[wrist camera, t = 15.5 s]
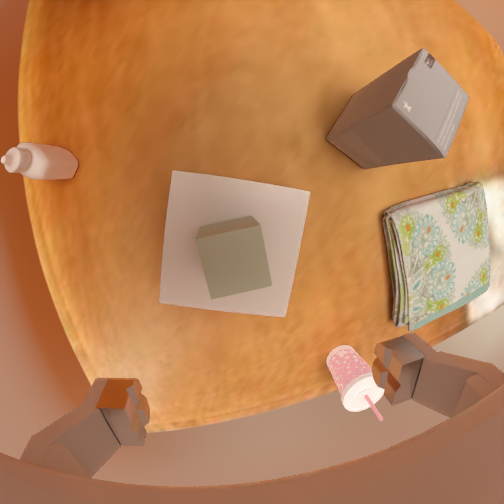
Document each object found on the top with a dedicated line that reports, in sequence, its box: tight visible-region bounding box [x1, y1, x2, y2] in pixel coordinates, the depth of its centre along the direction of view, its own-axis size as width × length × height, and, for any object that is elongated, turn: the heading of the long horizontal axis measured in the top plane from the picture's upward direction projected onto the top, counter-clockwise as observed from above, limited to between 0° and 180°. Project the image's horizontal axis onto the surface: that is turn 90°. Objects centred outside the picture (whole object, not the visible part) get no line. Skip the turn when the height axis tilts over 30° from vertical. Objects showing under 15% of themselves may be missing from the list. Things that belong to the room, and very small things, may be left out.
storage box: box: [159, 170, 310, 317], centre depth 31 cm, size 13×13×6 cm
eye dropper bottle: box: [1, 142, 79, 180], centre depth 23 cm, size 4×6×12 cm
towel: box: [382, 181, 490, 331], centre depth 36 cm, size 18×21×5 cm
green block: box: [196, 215, 272, 299], centre depth 25 cm, size 5×5×6 cm
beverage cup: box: [326, 345, 385, 421], centre depth 33 cm, size 6×6×14 cm
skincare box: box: [326, 48, 469, 169], centre depth 25 cm, size 8×7×16 cm
